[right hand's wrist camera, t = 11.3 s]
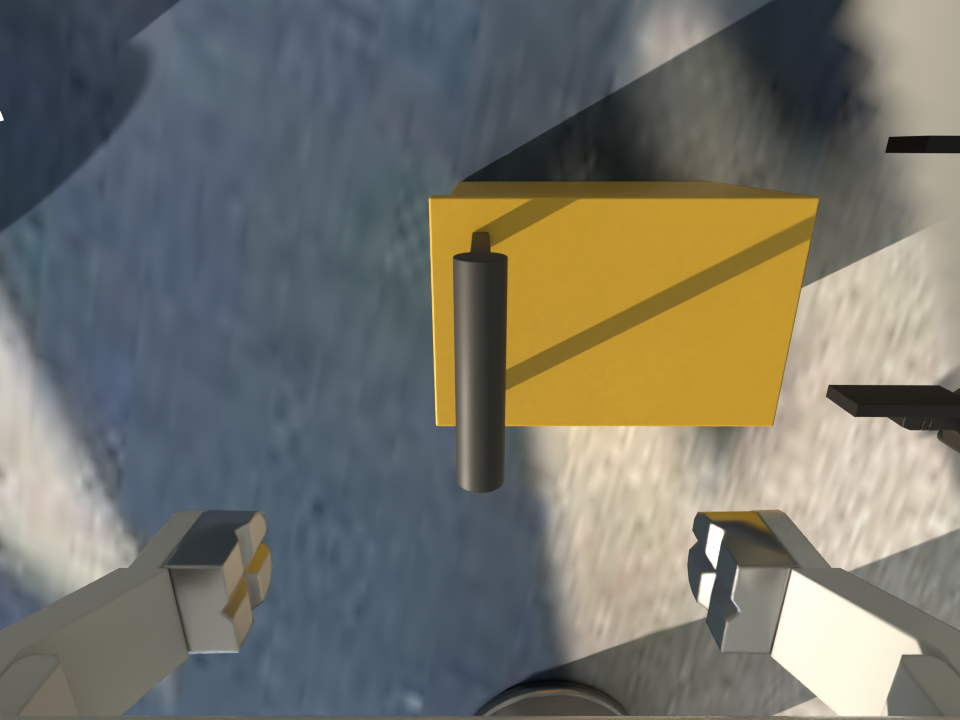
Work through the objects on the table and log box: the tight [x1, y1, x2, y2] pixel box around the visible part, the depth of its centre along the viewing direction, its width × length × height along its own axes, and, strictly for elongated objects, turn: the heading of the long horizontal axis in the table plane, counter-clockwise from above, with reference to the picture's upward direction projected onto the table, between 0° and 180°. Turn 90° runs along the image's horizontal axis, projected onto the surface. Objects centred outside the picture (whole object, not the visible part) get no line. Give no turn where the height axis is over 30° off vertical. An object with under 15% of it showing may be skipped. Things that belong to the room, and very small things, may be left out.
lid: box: [429, 195, 820, 493], centre depth 22 cm, size 16×10×8 cm, turn 90°
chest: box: [450, 181, 801, 195], centre depth 31 cm, size 15×10×11 cm
